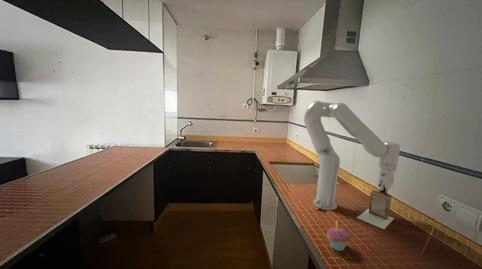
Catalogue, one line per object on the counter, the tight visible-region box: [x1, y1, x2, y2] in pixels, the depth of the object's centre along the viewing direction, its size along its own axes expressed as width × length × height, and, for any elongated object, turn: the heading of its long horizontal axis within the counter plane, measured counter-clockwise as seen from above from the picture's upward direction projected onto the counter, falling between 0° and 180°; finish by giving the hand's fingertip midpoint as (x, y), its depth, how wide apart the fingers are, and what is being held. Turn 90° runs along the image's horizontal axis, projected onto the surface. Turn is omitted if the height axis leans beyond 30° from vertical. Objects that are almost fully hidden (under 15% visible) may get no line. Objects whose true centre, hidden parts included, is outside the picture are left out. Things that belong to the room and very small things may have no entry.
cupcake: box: [326, 219, 351, 252], centre depth 80 cm, size 9×8×12 cm
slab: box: [368, 189, 392, 220], centre depth 105 cm, size 4×8×12 cm, turn 40°
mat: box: [356, 208, 395, 230], centre depth 104 cm, size 16×12×1 cm
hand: (382, 199), depth 108 cm, fingers closed
